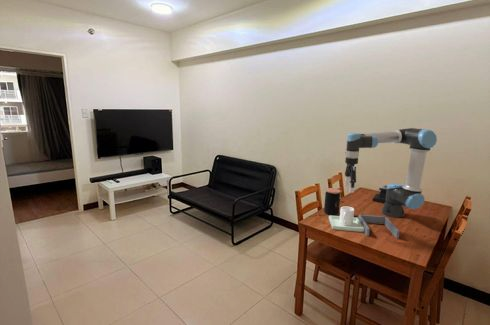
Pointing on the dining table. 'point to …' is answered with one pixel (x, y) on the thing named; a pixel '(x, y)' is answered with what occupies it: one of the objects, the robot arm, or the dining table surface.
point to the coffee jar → (332, 201)
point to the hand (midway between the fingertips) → (349, 189)
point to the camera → (381, 195)
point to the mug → (346, 215)
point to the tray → (338, 226)
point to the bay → (379, 220)
